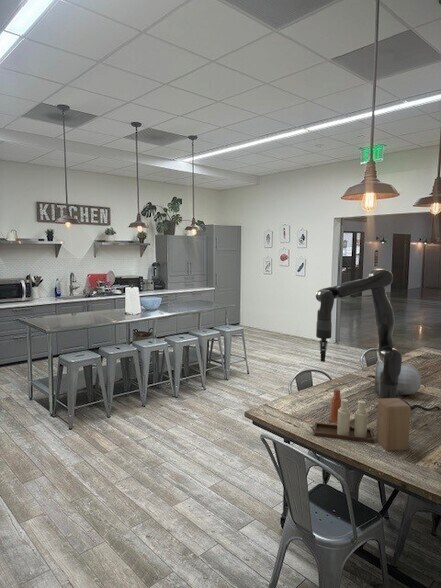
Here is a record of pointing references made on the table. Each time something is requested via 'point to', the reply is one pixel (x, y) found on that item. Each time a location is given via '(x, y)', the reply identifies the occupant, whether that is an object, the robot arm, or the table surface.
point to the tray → (331, 432)
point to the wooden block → (393, 424)
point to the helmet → (400, 379)
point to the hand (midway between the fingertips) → (323, 359)
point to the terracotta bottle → (335, 405)
